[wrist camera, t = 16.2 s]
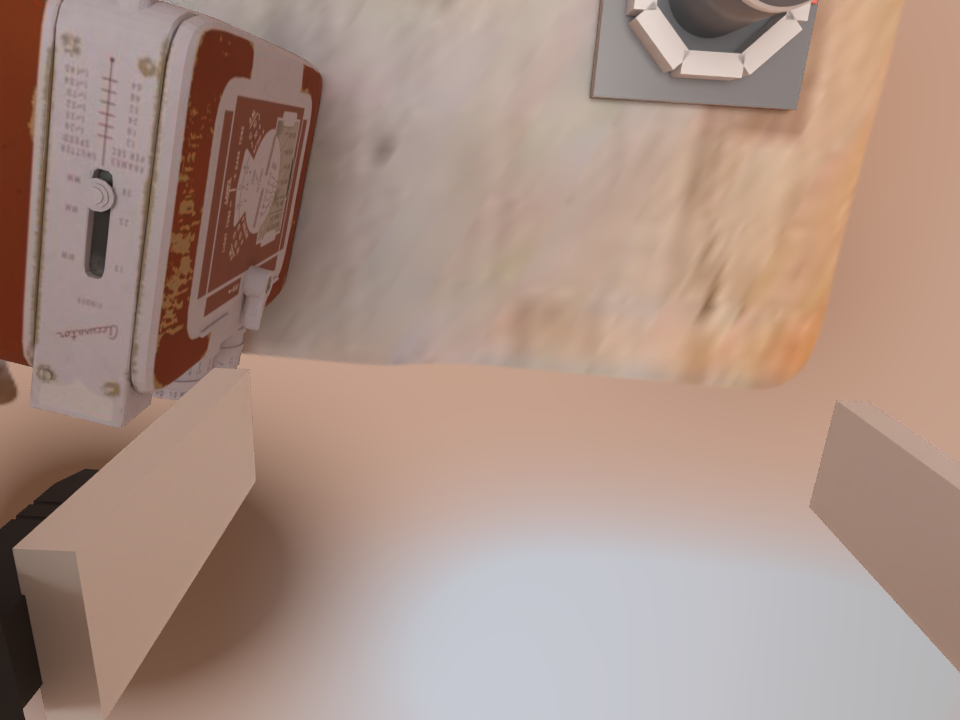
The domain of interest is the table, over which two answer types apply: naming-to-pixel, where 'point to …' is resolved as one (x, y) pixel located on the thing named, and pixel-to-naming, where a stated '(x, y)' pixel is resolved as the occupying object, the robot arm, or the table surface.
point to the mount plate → (699, 58)
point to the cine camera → (141, 196)
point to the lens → (726, 14)
